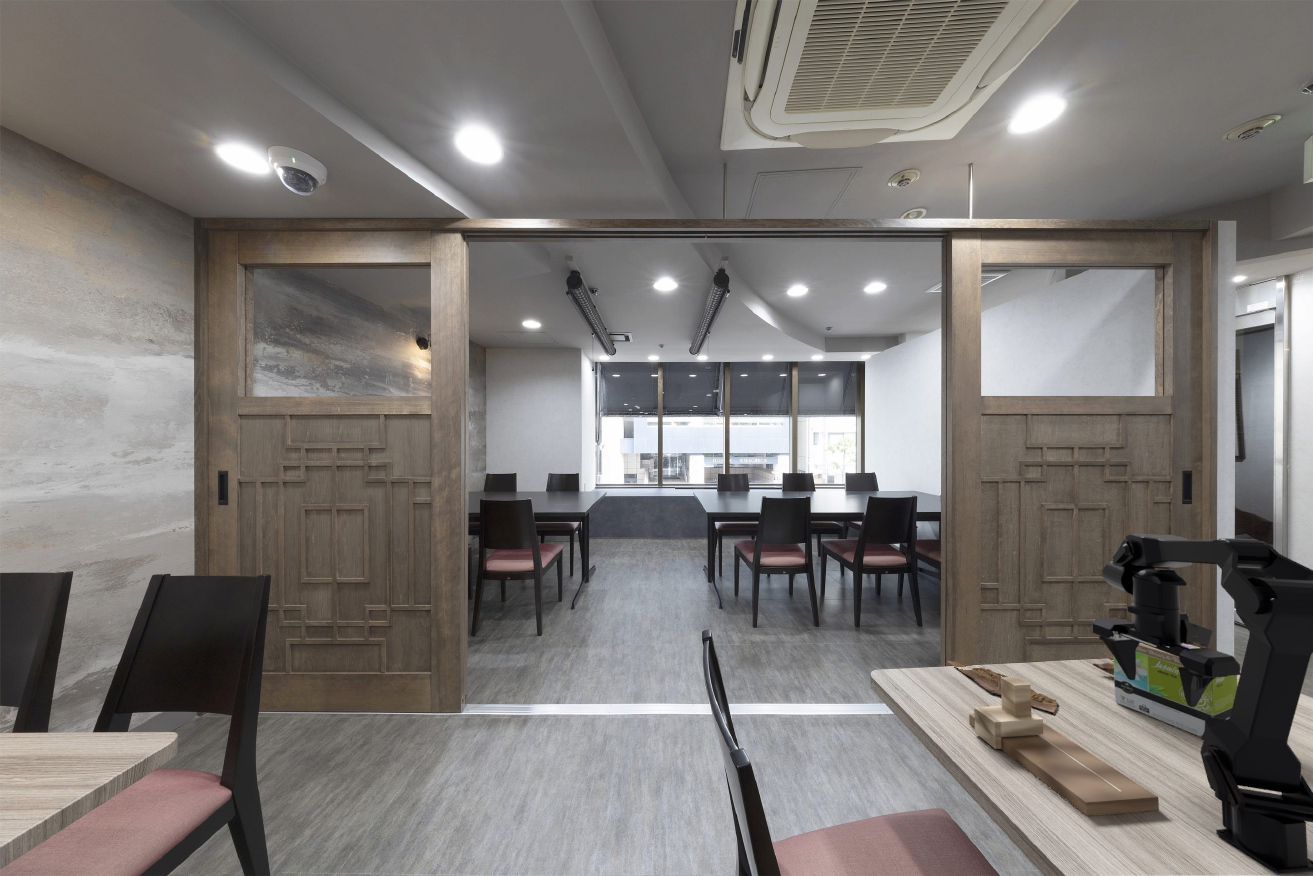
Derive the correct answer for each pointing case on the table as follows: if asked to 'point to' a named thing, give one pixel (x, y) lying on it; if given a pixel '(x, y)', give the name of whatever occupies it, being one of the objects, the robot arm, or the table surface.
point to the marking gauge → (1008, 714)
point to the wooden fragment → (993, 684)
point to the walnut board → (1077, 774)
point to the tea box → (1171, 691)
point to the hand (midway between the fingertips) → (1160, 692)
